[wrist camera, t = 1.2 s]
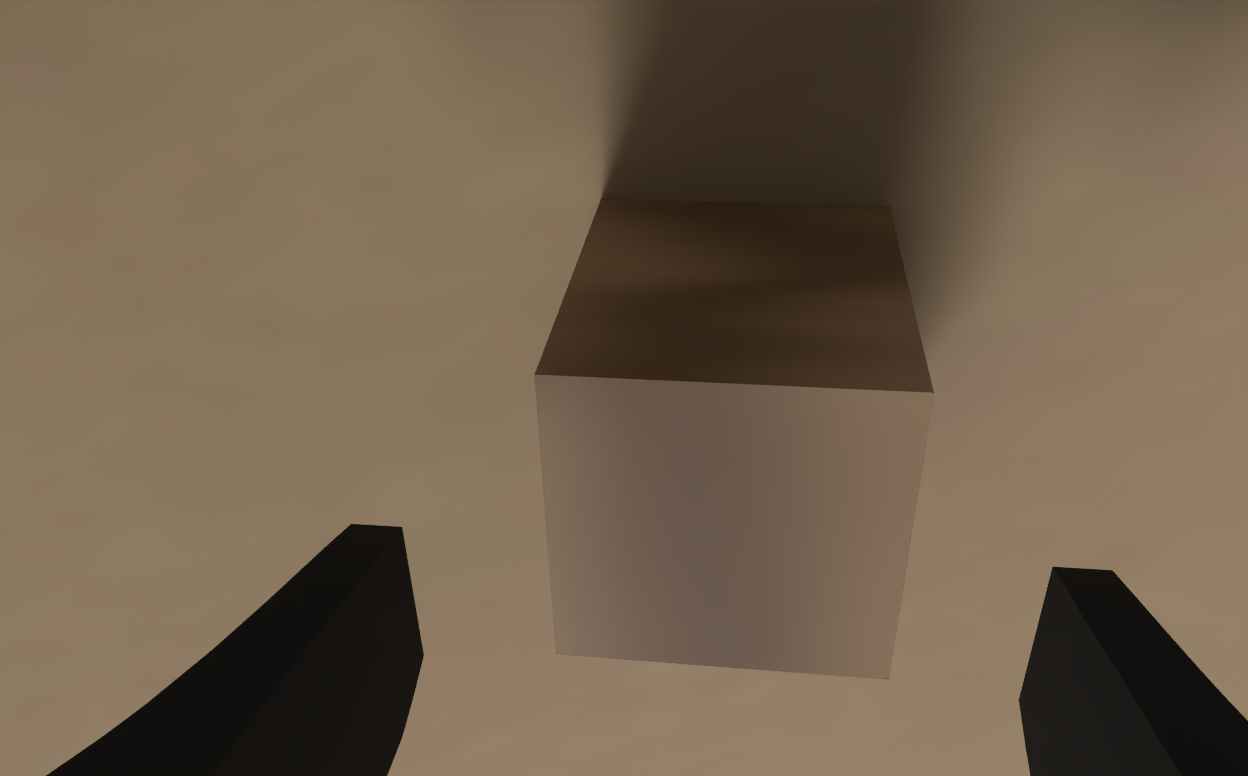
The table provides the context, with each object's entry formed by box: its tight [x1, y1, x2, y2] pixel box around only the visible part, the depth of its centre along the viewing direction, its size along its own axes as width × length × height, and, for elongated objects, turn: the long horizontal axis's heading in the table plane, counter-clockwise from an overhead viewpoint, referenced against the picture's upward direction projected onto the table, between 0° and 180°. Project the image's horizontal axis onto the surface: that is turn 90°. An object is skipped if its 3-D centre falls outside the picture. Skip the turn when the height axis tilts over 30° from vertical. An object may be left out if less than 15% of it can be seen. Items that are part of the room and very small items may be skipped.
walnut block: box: [535, 199, 934, 680], centre depth 15 cm, size 4×4×6 cm
